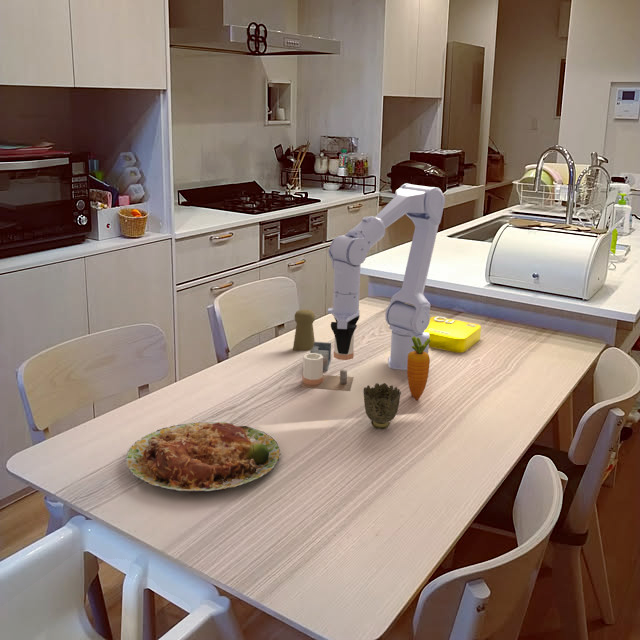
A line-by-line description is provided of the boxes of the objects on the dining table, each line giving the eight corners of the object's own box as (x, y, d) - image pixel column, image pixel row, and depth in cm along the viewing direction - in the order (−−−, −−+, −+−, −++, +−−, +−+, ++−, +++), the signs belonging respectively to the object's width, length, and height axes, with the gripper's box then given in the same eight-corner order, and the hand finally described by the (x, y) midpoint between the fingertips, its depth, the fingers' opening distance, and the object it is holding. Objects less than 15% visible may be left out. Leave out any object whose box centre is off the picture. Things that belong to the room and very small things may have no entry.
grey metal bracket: (358, 367, 173) (359, 344, 172) (356, 377, 168) (357, 353, 166) (313, 364, 175) (314, 341, 173) (309, 373, 169) (310, 350, 167)
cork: (315, 355, 181) (316, 314, 177) (291, 355, 181) (292, 313, 178) (316, 347, 187) (317, 307, 183) (293, 346, 187) (293, 306, 183)
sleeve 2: (354, 353, 161) (355, 328, 159) (352, 360, 157) (353, 334, 155) (335, 352, 161) (336, 327, 160) (332, 359, 157) (333, 333, 155)
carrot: (429, 398, 157) (434, 334, 152) (423, 407, 152) (428, 341, 148) (408, 394, 159) (412, 331, 154) (401, 402, 154) (405, 338, 150)
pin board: (353, 381, 165) (354, 365, 164) (350, 395, 157) (350, 378, 156) (306, 378, 166) (307, 361, 165) (301, 392, 159) (301, 374, 158)
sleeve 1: (320, 376, 164) (320, 352, 163) (324, 384, 160) (324, 359, 159) (301, 377, 164) (301, 353, 162) (305, 385, 159) (305, 360, 158)
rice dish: (195, 419, 148) (194, 395, 146) (309, 448, 134) (308, 422, 133) (92, 478, 125) (89, 450, 123) (216, 520, 111) (214, 489, 110)
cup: (374, 437, 139) (375, 400, 136) (355, 422, 145) (356, 386, 142) (405, 430, 142) (408, 393, 139) (385, 415, 148) (387, 380, 146)
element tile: (409, 343, 192) (410, 327, 191) (432, 329, 204) (433, 313, 203) (462, 355, 185) (463, 337, 183) (482, 339, 197) (483, 323, 195)
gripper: (332, 281, 162) (330, 337, 166) (323, 299, 148) (322, 359, 152) (363, 283, 161) (360, 339, 165) (357, 301, 147) (355, 362, 151)
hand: (344, 349), depth 159 cm, fingers closed on sleeve 2, 4 cm apart
